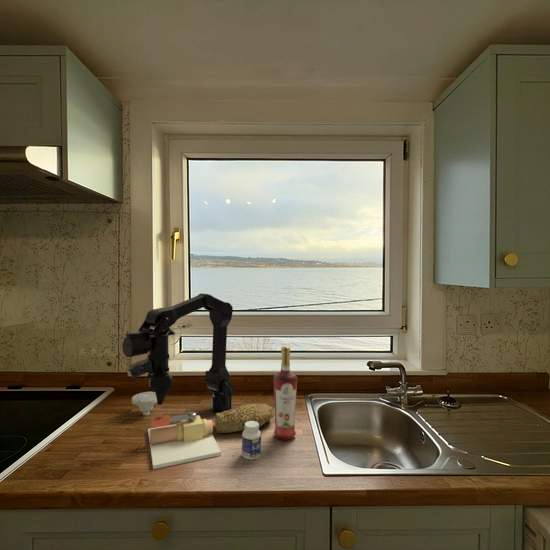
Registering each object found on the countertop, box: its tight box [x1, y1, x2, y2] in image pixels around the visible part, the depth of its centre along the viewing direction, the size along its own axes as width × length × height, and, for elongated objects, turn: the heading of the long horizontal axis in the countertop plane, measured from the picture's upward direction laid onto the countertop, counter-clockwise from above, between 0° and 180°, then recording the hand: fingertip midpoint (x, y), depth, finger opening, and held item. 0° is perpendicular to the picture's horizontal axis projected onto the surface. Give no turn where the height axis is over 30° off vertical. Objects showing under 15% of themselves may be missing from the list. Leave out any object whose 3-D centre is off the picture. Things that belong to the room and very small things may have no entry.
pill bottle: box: [241, 421, 262, 461], centre depth 100 cm, size 5×5×9 cm
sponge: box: [214, 403, 275, 434], centre depth 117 cm, size 13×8×20 cm
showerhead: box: [131, 391, 157, 416], centre depth 126 cm, size 9×7×10 cm
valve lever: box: [151, 411, 197, 428], centre depth 106 cm, size 13×3×2 cm, turn 113°
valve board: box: [147, 414, 222, 470], centre depth 106 cm, size 18×22×6 cm
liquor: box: [273, 345, 298, 441], centre depth 110 cm, size 7×7×28 cm
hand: (158, 400), depth 110 cm, fingers open, 6 cm apart
